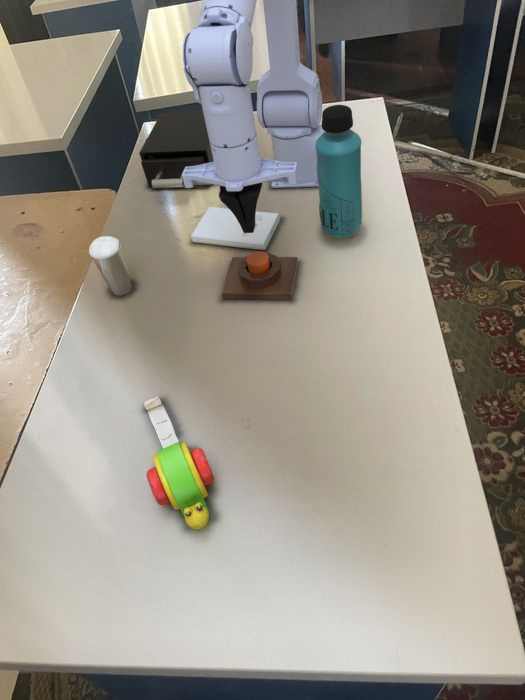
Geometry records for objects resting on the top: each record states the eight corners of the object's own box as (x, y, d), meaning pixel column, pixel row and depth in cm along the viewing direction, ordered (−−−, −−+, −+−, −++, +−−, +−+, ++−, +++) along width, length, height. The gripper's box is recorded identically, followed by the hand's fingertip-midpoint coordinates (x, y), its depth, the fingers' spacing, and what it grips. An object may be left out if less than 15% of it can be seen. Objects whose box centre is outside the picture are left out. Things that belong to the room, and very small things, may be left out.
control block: (298, 263, 85) (296, 247, 83) (291, 300, 80) (289, 284, 78) (233, 263, 87) (230, 248, 85) (223, 299, 82) (219, 284, 80)
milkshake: (135, 300, 84) (114, 247, 77) (103, 298, 86) (78, 246, 78) (146, 280, 87) (125, 226, 80) (114, 278, 89) (91, 226, 81)
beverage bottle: (368, 224, 89) (369, 99, 74) (354, 250, 86) (352, 124, 71) (329, 218, 92) (322, 95, 77) (314, 243, 88) (304, 119, 73)
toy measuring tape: (176, 551, 58) (159, 523, 53) (130, 413, 71) (112, 380, 66) (233, 523, 59) (222, 494, 54) (178, 393, 72) (164, 359, 67)
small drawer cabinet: (214, 184, 103) (206, 149, 98) (149, 186, 105) (138, 152, 100) (229, 143, 112) (222, 109, 107) (169, 146, 114) (160, 113, 109)
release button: (271, 260, 82) (270, 251, 81) (268, 275, 80) (267, 265, 79) (250, 260, 83) (248, 251, 82) (246, 275, 81) (244, 265, 80)
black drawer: (202, 200, 98) (195, 174, 94) (141, 202, 100) (133, 176, 97) (222, 147, 110) (217, 121, 106) (168, 149, 112) (161, 124, 108)
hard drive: (211, 213, 97) (280, 220, 93) (192, 243, 92) (264, 251, 88) (209, 205, 96) (279, 211, 92) (190, 235, 91) (263, 243, 87)
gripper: (166, 156, 67) (192, 247, 77) (288, 150, 64) (298, 246, 74) (180, 126, 71) (203, 216, 81) (295, 119, 68) (304, 213, 78)
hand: (249, 228), depth 78 cm, fingers closed
